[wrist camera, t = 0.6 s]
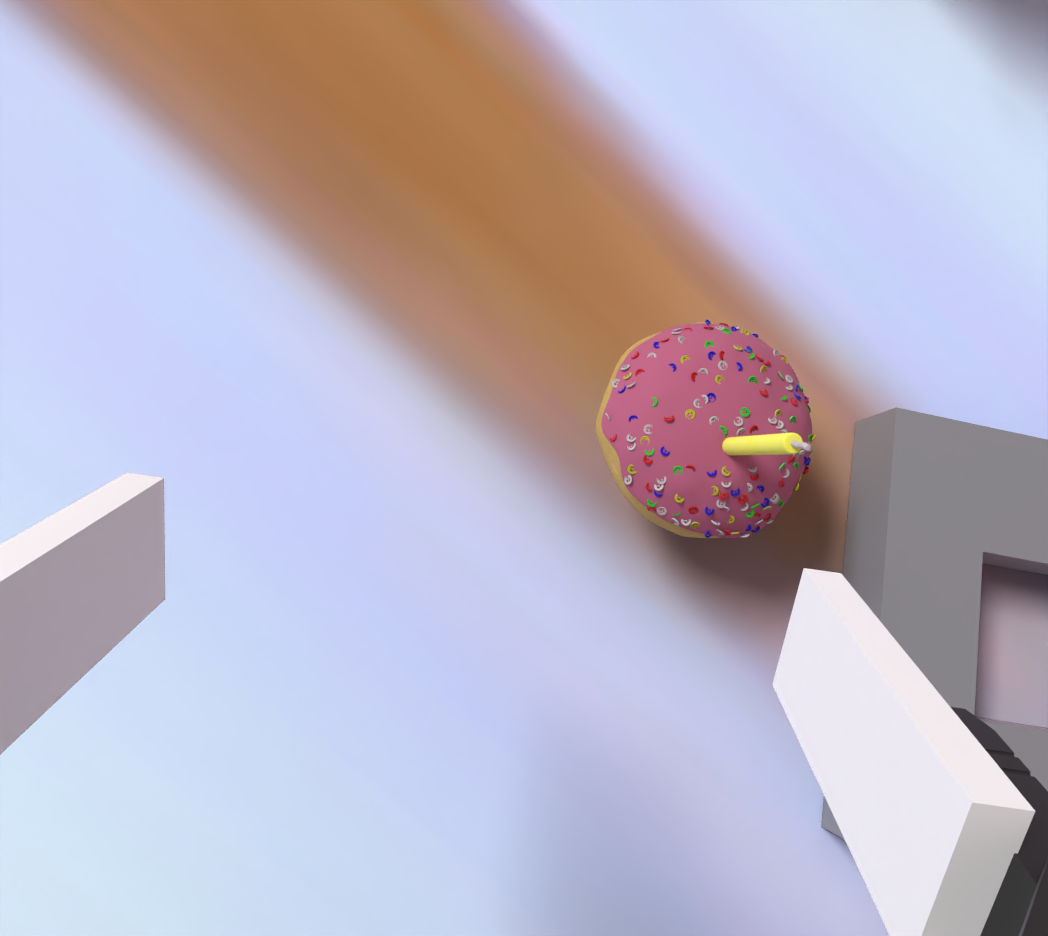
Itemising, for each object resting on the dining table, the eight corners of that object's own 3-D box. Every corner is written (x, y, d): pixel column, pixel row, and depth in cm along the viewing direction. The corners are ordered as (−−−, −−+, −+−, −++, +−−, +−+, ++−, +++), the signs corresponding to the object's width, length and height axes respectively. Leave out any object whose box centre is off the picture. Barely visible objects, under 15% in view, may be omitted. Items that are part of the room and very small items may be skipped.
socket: (1144, 868, 35) (1212, 893, 32) (821, 826, 33) (863, 850, 30) (1149, 483, 38) (1212, 474, 35) (855, 422, 36) (896, 407, 33)
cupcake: (756, 548, 34) (945, 528, 22) (571, 541, 33) (669, 518, 21) (752, 362, 35) (928, 252, 24) (573, 349, 34) (667, 225, 22)
